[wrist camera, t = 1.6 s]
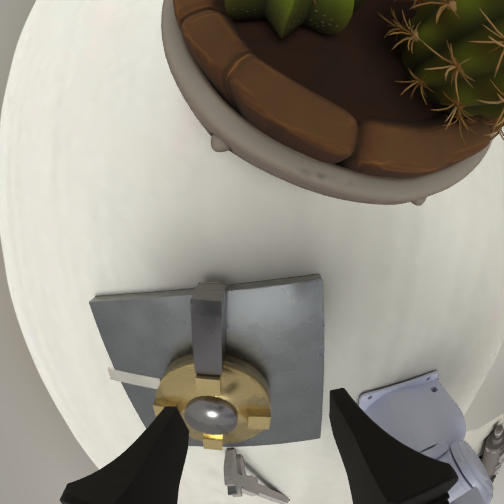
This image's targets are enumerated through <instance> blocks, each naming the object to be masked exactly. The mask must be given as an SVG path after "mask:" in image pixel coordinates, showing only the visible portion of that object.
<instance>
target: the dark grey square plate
mask: <svg viewBox="0 0 504 504" xmlns="http://www.w3.org/2000/svg"><path fill="white" fill-rule="evenodd" d="M206 283H212V284H221V283H218V282H206ZM195 289H196V288H193V289H182V290H171V291H160V292H148V293H136V294H122V295H108V296H96V297H94V298H93V299H92V300H91V301H90V302H89V304H90V307H91V310H92V313H93V315H94V318H95V321H96V324H97V327H98V329H99V332H100V335H101V337H102V340H103V342H104V345H105V347H106V350H107V352H108V354H109V357H110V359H111V361H112V363H113V366H114V368H115V369H113V368H109V367H108V371H109V375H110V378H111V379H112V380H116V381H120V382H121V383H122V385H123V387H124V389H125V391H126V393H127V395H128V397H129V399H130V401H131V402H132V404H133V406H134V408H135V410H136V412H137V413H138V415H139V417H140V419H141V420H142V422H143V424H144V425H145V427H146V429H147V428H148V426H149V425H150V424H151V423H152V422H153V420H154V419H155V418H156V416H155V412H154V408H153V403H154V401H155V395H156V391H157V389H158V386H159V384H160V382H161V380H162V377H163V375H164V373H165V371H166V369H167V368H168V367H169V365H170V364H171V363H173V362H174V361H175V360H177V359H178V358H181V357H183V356H186V355H189V354H193V342H192V326H191V307H190V298H191V296H192V294H193V293H194V291H195ZM226 355H230V356H233V357H236V358H238V359H241V360H243V361H245V362H247V363H248V364H250V365H252V366H253V367H254V368H256V369H257V370H258V371H259V372H260V373H261V374H262V375H263V377H264V378H265V380H266V381H267V383H268V386H269V390H270V403H271V419H270V426H269V429H264V430H263V431H262V432H260V433H259V434H257V435H256V436H254V437H252V438H250V439H247V440H244V441H241V442H236V443H228V444H223V447H237V446H259V445H271V444H282V443H290V442H298V441H305V440H311V439H317V438H320V434H321V420H322V402H323V376H324V303H323V279H322V278H321V276H320V275H319V274H315V275H307V276H299V277H292V278H284V279H276V280H267V281H259V282H250V283H241V284H232V285H226ZM188 446H203V441H200V440H196V439H193V438H191V437H189V442H188Z"/></svg>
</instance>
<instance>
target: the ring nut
mask: <svg viewBox="0 0 504 504" xmlns="http://www.w3.org/2000/svg"><path fill="white" fill-rule="evenodd" d="M190 307H191V326H192V342H193V354H189V355H186V356H183V357H181V358H178V359H177V360H175V361H174V362H173V363H171V364H170V365H169V367H168V368H167V369H166V371H165V373H164V375H163V377H162V380H161V382H160V384H159V386H158V389H157V391H156V395H155V401H154V403H153V408H154V412H155V416H156V417H157V416H158V414H159V413H160V412H161V411H162V410H163V408H164V407H165V406H176V407H177V408H178V410H179V412H180V414H181V416H182V418H183V420H184V422H185V424H186V426H187V428H188V429H189V437H191V438H193V439H196V440H200V441H203V446H204V448H205V449H215V450H223V444H228V443H236V442H241V441H244V440H247V439H250V438H252V437H254V436H256V435H257V434H259V433H260V432H262V431H263V430H264V429H269V426H270V419H271V403H270V390H269V386H268V383H267V381H266V380H265V378H264V377H263V375H262V374H261V373H260V372H259V371H258V370H257V369H256V368H254V367H253V366H252V365H250V364H248V363H247V362H245V361H243V360H241V359H238V358H236V357H233V356H230V355H226V284H212V283H198V285H197V287H196V289H195V291H194V293H193V294H192V296H191V298H190Z"/></svg>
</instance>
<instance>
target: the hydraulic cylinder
mask: <svg viewBox="0 0 504 504" xmlns="http://www.w3.org/2000/svg"><path fill="white" fill-rule="evenodd" d="M481 462H482V463H483V465H484V467H485V469H486V471H487V474H488V476H489V478H490V480H491V481H492V483H493V481H494V479H495V477H496V475H495V474H498V471H499V470H500V468H501V464H502V463H503V462H504V429H503V426H501V425H500V426H498V427H497V428H496V429H495V430H494V431H493V432H492V433H491V434H490V435H489V436H488V438H487V440H486V445H485V450H484V455H483V458H482V459H481ZM501 462H502V463H501Z"/></svg>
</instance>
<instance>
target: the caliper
mask: <svg viewBox="0 0 504 504" xmlns="http://www.w3.org/2000/svg"><path fill="white" fill-rule="evenodd" d="M224 479H225V485H226V486H228V495H233V497H240V496H242V493H244V494H247V495H250V496H256V495H257V496H260V497H262V498H265V499H268V500H271V501H274V502H277V503H280V504H286V503H288V501H290V499H287V497H286V496H285V495H283V494H281V493H278V492H276V491H274V490H271V489H269V488H267V487H265V486H263V485H261V484H259V483H258V481H257V478H256V477H253V476H252V475H251V476H247V475H246V471H245V466H244V462H243V457H242V455H241V454H239V455H236V449H231V450H226V452H225V461H224Z"/></svg>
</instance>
